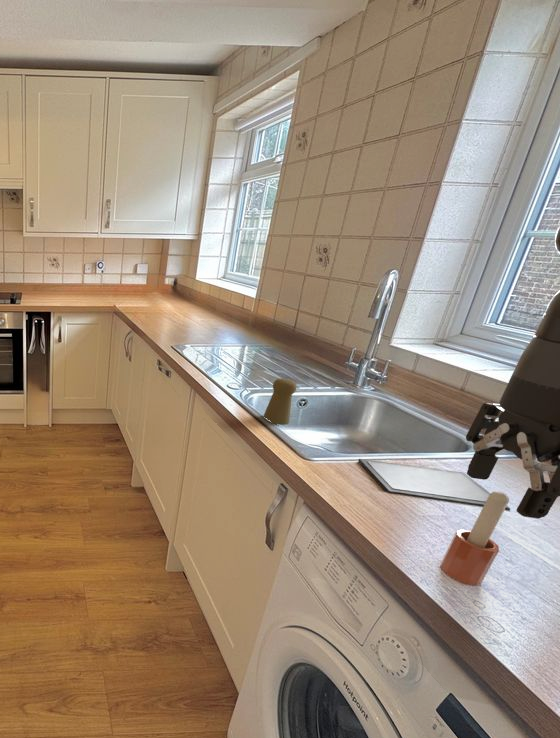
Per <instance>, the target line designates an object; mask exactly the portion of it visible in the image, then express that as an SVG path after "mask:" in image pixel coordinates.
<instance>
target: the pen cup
mask: <svg viewBox="0 0 560 738" xmlns="http://www.w3.org/2000/svg"><path fill="white" fill-rule="evenodd" d="M470 532H471V530H467V529H458V530H456V531H455V533H454V535H453V538H452V539H451V541H450V543H449V545H448V547H447V550H446V551H445V554H444V555H443V558H442V560H441V562H440V569H441V571H443V573H444V574H445V575H447V576H448V577H450V578H451V579H453V580H455V581H457V582H458V583H460V584H461V583H462V584H464V585H466V586H467V585H468V586H472V587H473V586H474V587H477V586H479V585H481V584H482V583H483V581H484V579H485V577H486V575H487V574H488V572H489V570H490V568H491V566H492V564H493V563H494V561H495V559H496V557H497V555H498V553H499V552H500V547H499V545H498V544H497V543H496V542H494V540H492V539H491V538H489V540H488V542H487V544H486V546H485V548H481V547H479V546H476V545H473V544H471V543H470V542H468V541H466V540H467V538H468V536H469V534H470Z"/></svg>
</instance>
